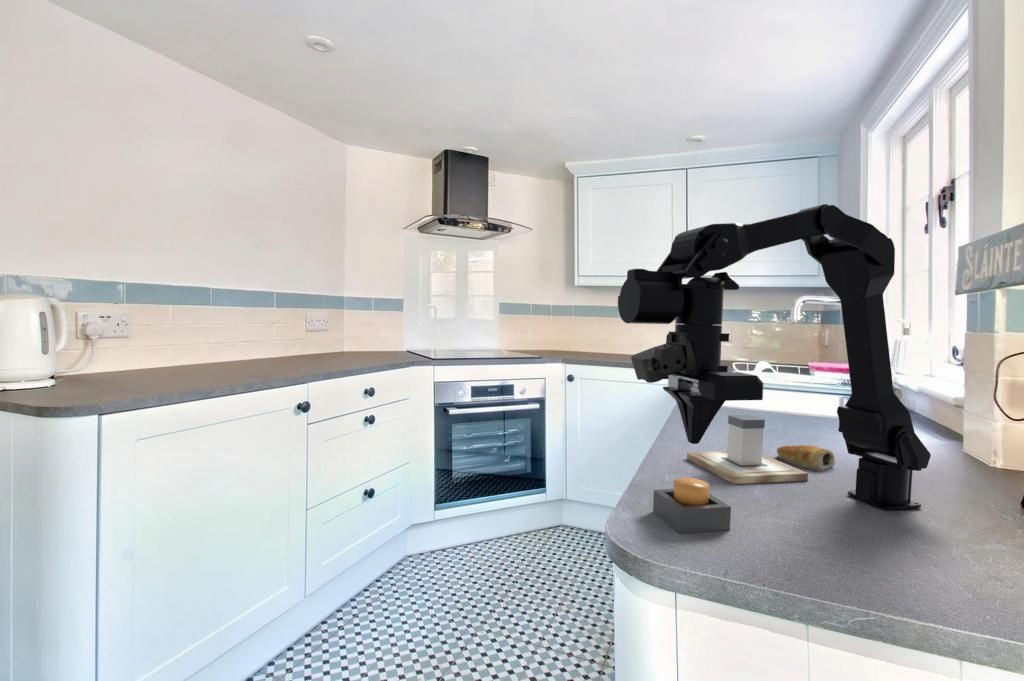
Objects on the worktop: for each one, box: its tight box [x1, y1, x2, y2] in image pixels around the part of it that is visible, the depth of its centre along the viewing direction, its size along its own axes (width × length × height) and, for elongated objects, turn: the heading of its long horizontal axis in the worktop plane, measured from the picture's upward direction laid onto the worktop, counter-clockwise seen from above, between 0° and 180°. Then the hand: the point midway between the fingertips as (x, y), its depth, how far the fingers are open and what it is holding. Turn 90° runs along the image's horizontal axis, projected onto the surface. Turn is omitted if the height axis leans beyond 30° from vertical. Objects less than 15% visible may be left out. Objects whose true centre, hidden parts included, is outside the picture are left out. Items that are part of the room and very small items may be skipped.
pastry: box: [776, 444, 836, 471], centre depth 93 cm, size 9×7×4 cm
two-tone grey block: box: [727, 414, 766, 465], centre depth 88 cm, size 4×4×8 cm
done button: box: [673, 477, 710, 506], centre depth 65 cm, size 4×4×2 cm
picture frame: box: [686, 450, 809, 485], centre depth 88 cm, size 14×14×1 cm
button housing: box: [652, 488, 732, 534], centre depth 65 cm, size 7×7×3 cm
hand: (693, 443), depth 65 cm, fingers closed
